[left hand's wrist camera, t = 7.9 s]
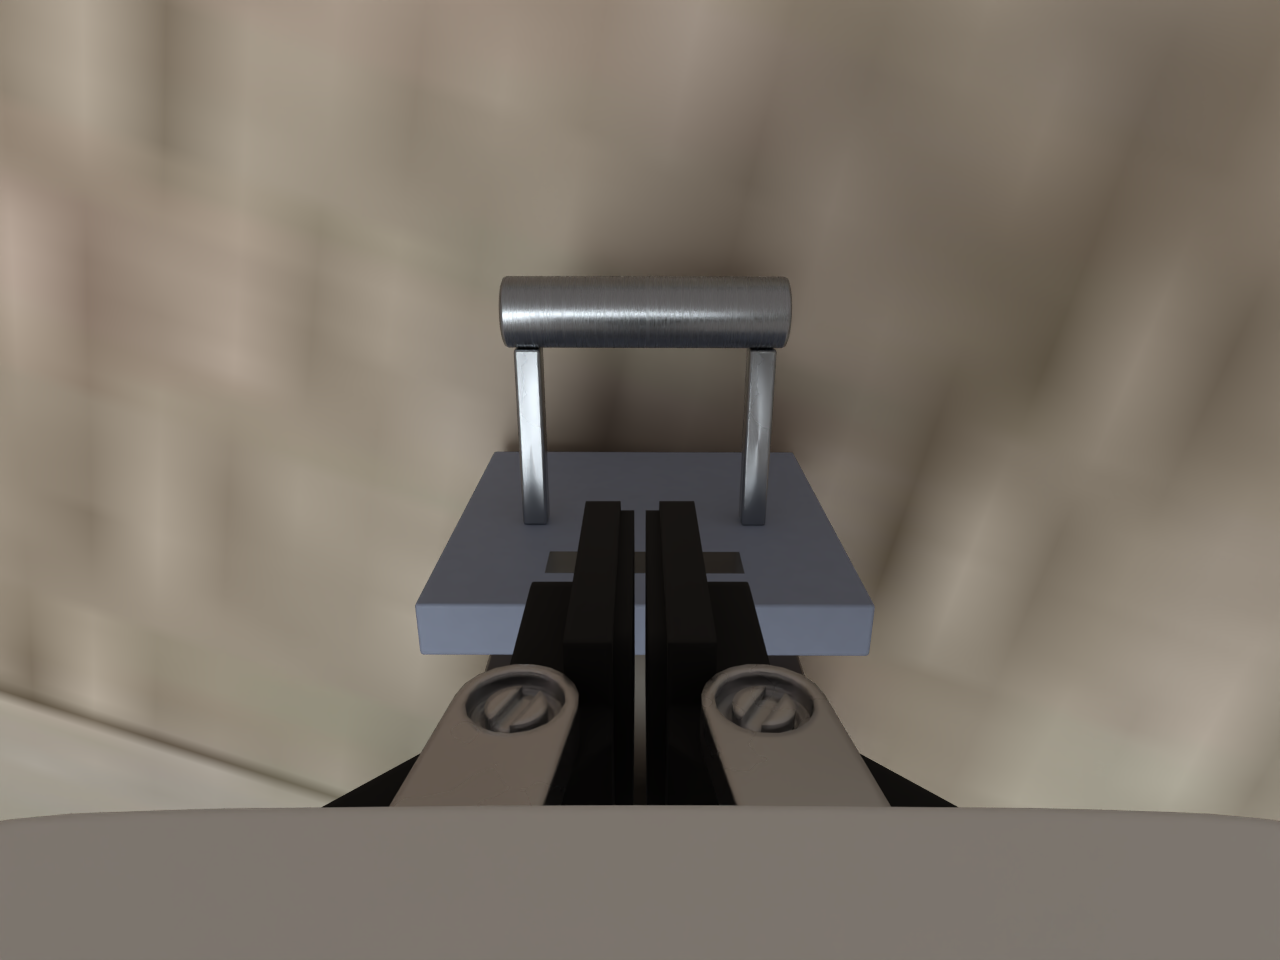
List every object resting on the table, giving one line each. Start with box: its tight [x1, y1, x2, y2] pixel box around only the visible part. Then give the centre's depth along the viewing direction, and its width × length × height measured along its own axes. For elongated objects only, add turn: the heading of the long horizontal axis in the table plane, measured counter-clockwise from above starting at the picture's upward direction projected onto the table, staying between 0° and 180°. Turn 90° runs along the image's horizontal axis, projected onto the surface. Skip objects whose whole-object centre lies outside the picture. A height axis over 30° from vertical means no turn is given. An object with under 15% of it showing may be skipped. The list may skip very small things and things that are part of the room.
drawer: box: [415, 276, 875, 805], centre depth 22 cm, size 24×9×9 cm, turn 0°
